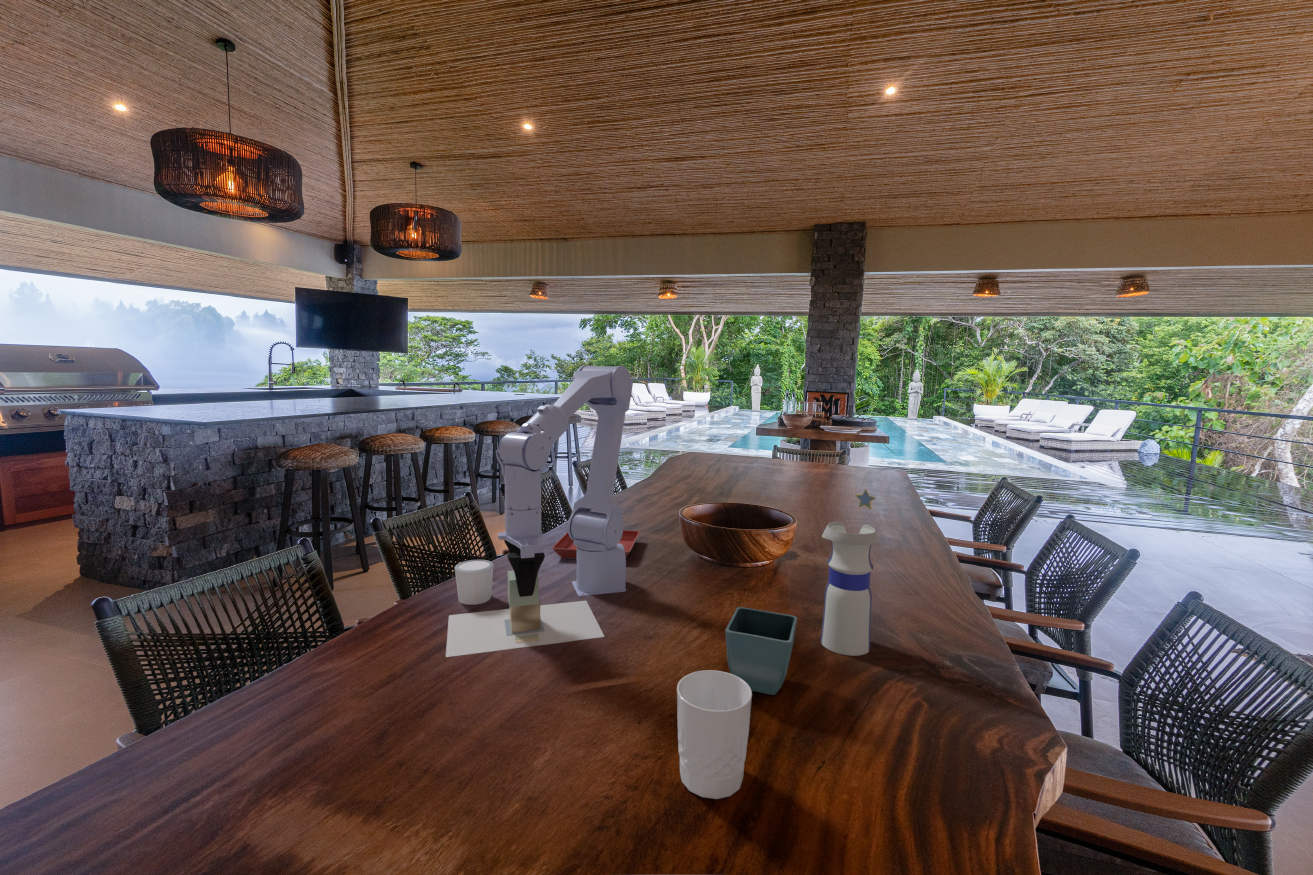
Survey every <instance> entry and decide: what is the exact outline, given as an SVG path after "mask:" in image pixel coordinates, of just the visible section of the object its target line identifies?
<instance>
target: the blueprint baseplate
mask: <svg viewBox="0 0 1313 875" xmlns="http://www.w3.org/2000/svg"><path fill="white" fill-rule="evenodd" d="M447 622H448V624H447V635H446V636H447V637H446V649H445V658H452V657H459V656H469V655H474V654H483V653H484V654H485V653H490V652H491V653H492V652H497V651H498V652H500V651H506V650H507V651H508V650H513V649H521V648H530V647H537V646H545V645H552V644H553V645H554V644H561V643H570V642H576V641H577V642H578V641H583V640H590V639H591V640H592V639H599V638H605V634H604V632H603V631H602V629H601V627H600V625H599V623H598V621H597V619H596V617H595V615H594V613H593V611H592V609H591V607H590V605H589V603H588V601H587V600H581V601H580V600H578V601H569V602H561V603H553V604H552V603H551V604H550V603H549V604H542V605H541V604H540V630H531V631H523V632H515V633H512V632H511V626H510V608H504V609H497V610H486V611H478V612H469V613H468V612H467V613H458V614H449V615H448V621H447Z"/></svg>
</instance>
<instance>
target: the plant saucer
mask: <svg viewBox="0 0 1313 875" xmlns="http://www.w3.org/2000/svg"><path fill="white" fill-rule="evenodd" d="M640 534H641V531H639V530H630V529H629V530H628V529H627V530H625V529H623V534H622V537H621V539H620V541H619V542H618V544H622V545H623V547H624V550H625V556H626V558H627V557H628V555H629V554H630V552H631V550H632V549H633V547H634V545H635V543H636V541H637V539H638V537H639V535H640ZM552 550H553V552H555V553H556V554H557V555H558V556H559V557H560V558H562V559H565V558H575V559H574V560H577V546H576V545H574V540H572V539H571V538H570V537H569V534H568V531H567V532H566V533H565V534H564V535H563V536H562V537H561V538H560V539H559V540H558V541H557V542H555V544H554V545H553V546H552Z"/></svg>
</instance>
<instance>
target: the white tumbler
mask: <svg viewBox="0 0 1313 875" xmlns="http://www.w3.org/2000/svg"><path fill="white" fill-rule="evenodd" d="M494 566H495V565H494V563H493V561H490V560H487V559H486V560H485V559H471V560H465V561H461V562H459V563H457V564H456V565H455V566H454V574H455V581H456V583H455V584H456V590H457V598H458V602H459V603H460V604H462V605H469V606H470V605H471V606H472V605H481V604H484V603H487V602H488V601H489V600H491V598H492V587H493V579H494V578H493V576H494Z"/></svg>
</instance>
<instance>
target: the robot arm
mask: <svg viewBox="0 0 1313 875" xmlns="http://www.w3.org/2000/svg"><path fill="white" fill-rule="evenodd" d="M633 386H634V382H633V379H632V377H631V373H630V372H629V370H628V368H627V367H626V366H625V365H618V366H612V365H611V366H610V365H609V366H608V365H607V366H606V365H605V366H604V365H603V366H600V365H599V366H598V365H596V366H595V365H587V364H584V365H581V366H579V368H578V369H577V370H576V371H574V372H573V375H572V382H571V384H569V386H568V387H567V388H566V389H565V391H563V392H562V394H561V396H559V398H558V399H557V400H556V401H555V402H554V403H553V404H544V405H540V406H538V408H536V413H534V414H533V415H532V416H531V417H530V418H529V419H528V420H527V421H526V422H525V423H523V424H522V425H521V426H520V428H519V429H518V430H517V431H516V432H515V431H513V432H508V433H507V434H506V435H504V436H503V437H502V438H501V439H500V441H499V443H498V446H497V450H495V455H496V456H495V457H496V460H497V461H498V463H499V464H500V465H499V466H500V468H501V475H502V477H503V478H504V524H505V525H504V528H505V531H503V532H502V531H501V532H498V533H497V539H498V540H499V541H504V544H505V545H506V548H507V549H508V553H507V555H506V557H507V560H508V562H509V564H510V566H511V567H512V570H514V573H515V577H516V583H517V589H518V593H519V596H520V597H525V596H532V595H533V593H534V589H535V584H536V579H537V575H538V574H539V571H540V568H541V565H542V564H543V562H544V561H545V557H546V555H545V552H535V547H536V546H537V544H538V543H539V542H540V540H542V538H543V531H542V468H543V467H544V466H546V464H547V463H548V462H549V461H548V460H549V458H550V453H551V451H552V450H553V445H554V444H556V442H557V441H558V440H559V439H560V437H562V435H564V433H565V432H566V431H567V430H568V428H569V424H570V422H569V419H570V418H571V417H572V416H573V415H574V414H575V413H576V412H578V411H579V410H580V409H581V408H582V407H583V406H584V405H585V404H587V406H588V407H589V408H590V409H591V410H593V411H595V413H596V415H597V423H596V430H595V435H594V442H593V448H592V455H591V461H590V465H589V473H588V479H587V484H586V485H587V486H586V492H585V494H584V495H583V496H581V497H580V498H579V499H577V500H576V501H575V502H574V503H573V509H572V512H571V514H570V517H569V518H568V521H567V532H568V534H569V537H570V538H571V539H572V540H574V545H576V546H577V559H576V580H573V581H571V584H572V586H573V588H574V590H575V592H576V593H577V596H578V597H585V596H594V595H603V594H613V593H614V594H615V593H622V592H623V593H624V592H626V591H627V589H626V586H627V585H626V577H627V576H626V573H627V572H626V568H627V567H626V566H627V560H626V559H627V557H626V556H625V550H624V547H623V545H622V544H618V542H619V541H620V539H621V537H622V534H623V530H624V523H623V513H624V509H623V508H622V507H621V505H619V504H618V502H616V501H615V499H614V498H613V497H614V491H615V484H616V483H615V482H616V478H617V477H616V476H617V472H618V471H617V470H618V465H619V464H618V463H619V457H620V451H621V443H622V438H623V431H624V425H625V419H626V418H625V417H626V412H628V411H629V410H630V405H631V400H632V391H633ZM592 510H596V512H595V511H592ZM598 511H601V512H598Z"/></svg>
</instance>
